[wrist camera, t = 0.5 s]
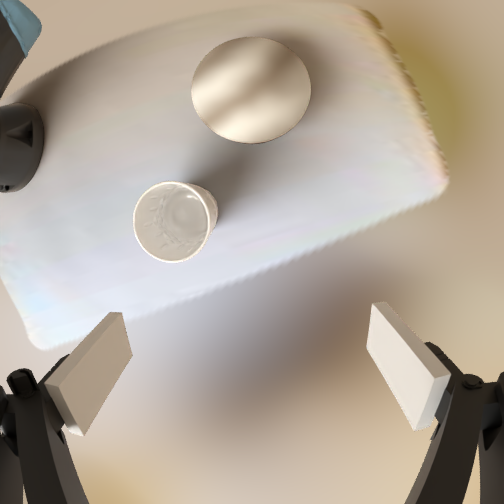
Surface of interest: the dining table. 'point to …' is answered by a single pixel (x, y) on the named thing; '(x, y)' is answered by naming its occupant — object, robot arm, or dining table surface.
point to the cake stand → (251, 90)
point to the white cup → (174, 220)
